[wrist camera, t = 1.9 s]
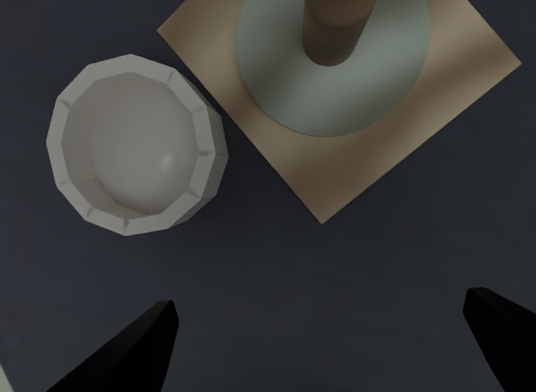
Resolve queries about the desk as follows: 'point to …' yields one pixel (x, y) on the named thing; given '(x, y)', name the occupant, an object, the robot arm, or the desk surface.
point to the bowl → (136, 146)
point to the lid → (331, 60)
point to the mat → (363, 141)
